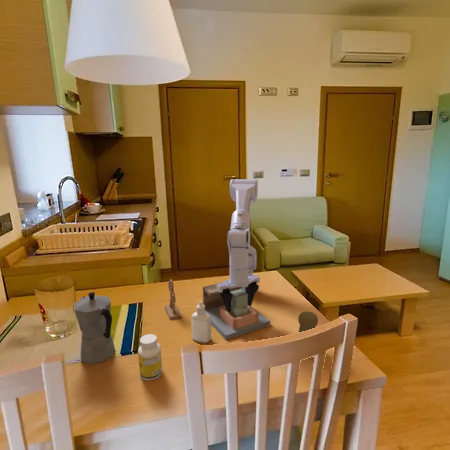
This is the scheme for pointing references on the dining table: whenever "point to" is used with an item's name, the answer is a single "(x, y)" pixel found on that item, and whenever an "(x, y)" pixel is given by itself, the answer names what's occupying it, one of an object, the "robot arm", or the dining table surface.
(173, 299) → the brown statuette
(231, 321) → the socket stand
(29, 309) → the dining table surface
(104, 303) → the coffeepot
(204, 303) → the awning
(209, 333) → the eye dropper bottle
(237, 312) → the peg
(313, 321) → the olive rounded piece
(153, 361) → the supplement bottle
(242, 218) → the robot arm
